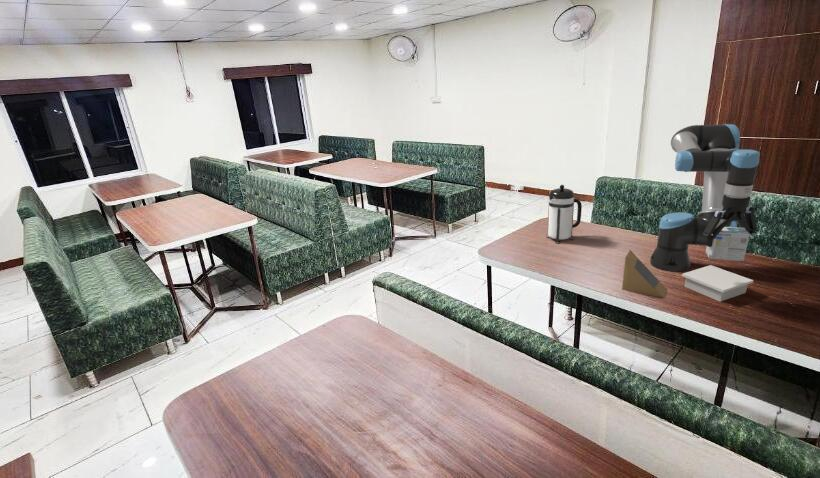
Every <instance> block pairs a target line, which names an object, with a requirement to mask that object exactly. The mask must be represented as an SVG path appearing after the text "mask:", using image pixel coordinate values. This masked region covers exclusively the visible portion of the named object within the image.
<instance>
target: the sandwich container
mask: <svg viewBox="0 0 820 478" xmlns="http://www.w3.org/2000/svg"><path fill="white" fill-rule="evenodd" d="M622 276H623V277H622V286H621V290H622V291H626V292H627V291H628V292H631V293H636V294H642V295H647V296H654V297H657V298H658V297H659V298H664V299H665V298H666V296H667V294H668V288H667V287H666V286H665V285H664V284H663V282H661V281H660V280H659V279H658V278H657V276H656V275H655V274H654V273H652V272H651V270H650V269H649V268H648V267H647V266H646V265H645V264H644V263H643V262H642V261H641V260H640V259H639V258H638V257H637V256H636V254H635V253H634V252H633V251H632V250H631V249H629V250H628V252H627V253H626V255H625V258H624V267H623V275H622Z"/></svg>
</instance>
